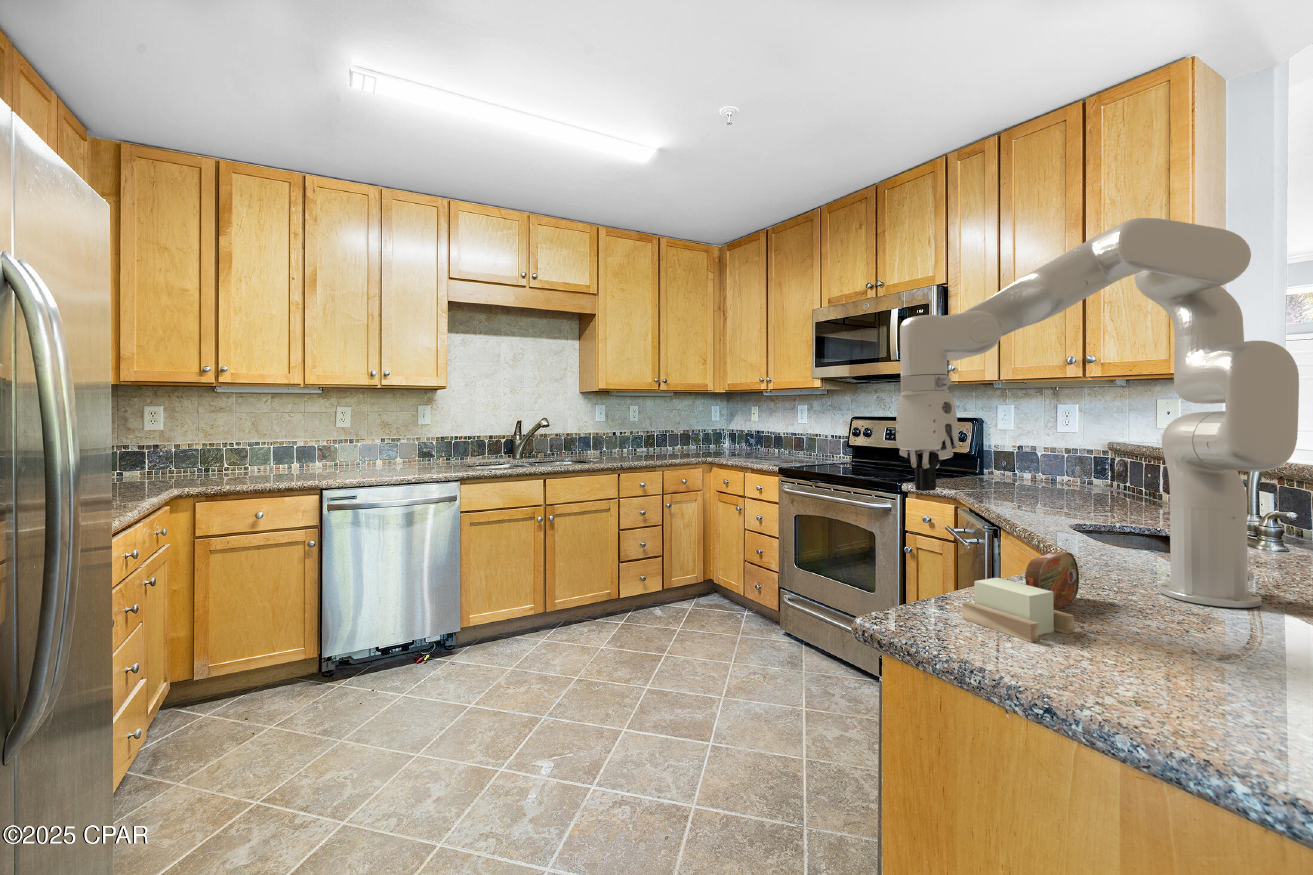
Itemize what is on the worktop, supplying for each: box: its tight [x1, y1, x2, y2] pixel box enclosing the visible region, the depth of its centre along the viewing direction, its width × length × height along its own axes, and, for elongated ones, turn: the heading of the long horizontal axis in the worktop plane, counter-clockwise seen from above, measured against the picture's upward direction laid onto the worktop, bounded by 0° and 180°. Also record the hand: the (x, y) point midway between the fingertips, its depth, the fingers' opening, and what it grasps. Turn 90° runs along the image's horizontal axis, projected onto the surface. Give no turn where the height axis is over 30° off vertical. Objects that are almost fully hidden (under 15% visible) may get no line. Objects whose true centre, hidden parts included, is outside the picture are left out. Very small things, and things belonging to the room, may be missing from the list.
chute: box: [962, 601, 1075, 643], centre depth 87 cm, size 9×11×2 cm
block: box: [973, 577, 1055, 636], centre depth 88 cm, size 5×9×6 cm, turn 21°
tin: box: [1024, 551, 1080, 611], centre depth 97 cm, size 15×3×8 cm, turn 125°
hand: (925, 490), depth 102 cm, fingers closed
